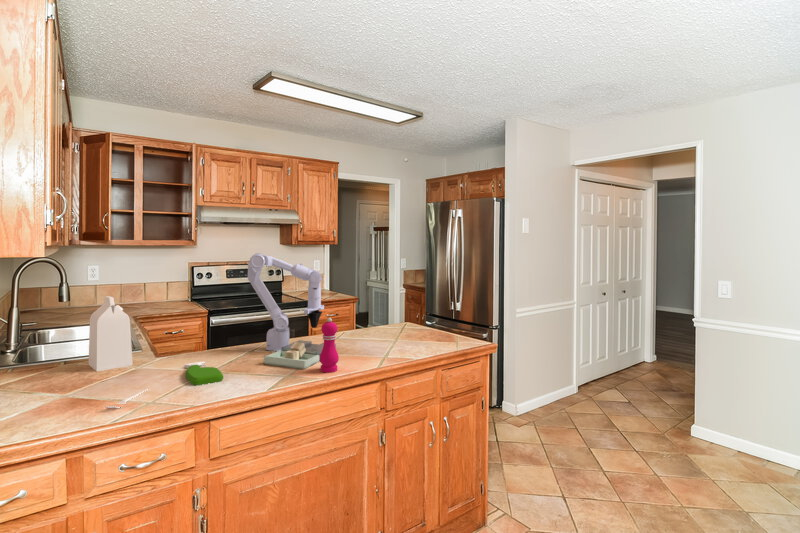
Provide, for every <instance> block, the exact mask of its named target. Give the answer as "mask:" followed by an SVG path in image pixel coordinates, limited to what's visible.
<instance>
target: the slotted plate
mask: <svg viewBox="0 0 800 533" xmlns="http://www.w3.org/2000/svg"><path fill="white" fill-rule="evenodd" d="M295 342H298V343H304V345H305V349H306V352H305V353H304V354H313V355H319V358H320V354H321V351H322V349H323V345H324V342H321V343H320V344H318V343H317V344H316V343H312V341H311V340H301V339H299V340H296V341H294V342H291V343H289V344H288V345H286V346H283V347H281V351H289V350H291V347H292V346H293V344H294V343H295ZM336 346H337V343H335V348H336V349H337V347H336Z"/></svg>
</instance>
